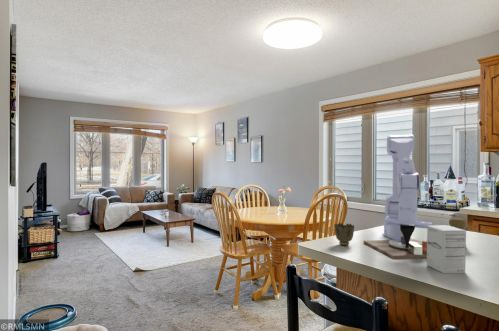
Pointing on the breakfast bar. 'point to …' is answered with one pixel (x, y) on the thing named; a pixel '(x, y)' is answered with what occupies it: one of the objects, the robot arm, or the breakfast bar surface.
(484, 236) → the breakfast bar surface
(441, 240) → the supplement box
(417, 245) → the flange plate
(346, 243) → the cup
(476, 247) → the breakfast bar surface
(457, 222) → the cork
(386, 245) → the board
